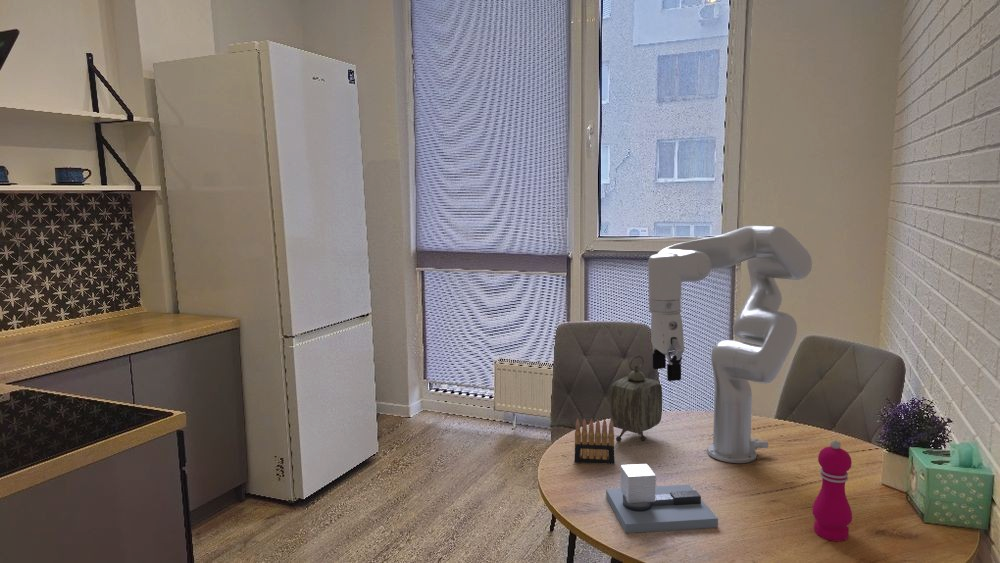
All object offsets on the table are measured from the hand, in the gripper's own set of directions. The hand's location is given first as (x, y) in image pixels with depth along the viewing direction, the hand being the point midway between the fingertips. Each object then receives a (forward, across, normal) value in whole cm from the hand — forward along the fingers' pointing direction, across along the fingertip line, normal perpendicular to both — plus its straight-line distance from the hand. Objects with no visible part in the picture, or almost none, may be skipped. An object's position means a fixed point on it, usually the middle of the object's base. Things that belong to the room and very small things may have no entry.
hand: (666, 374), depth 150 cm
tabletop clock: (+28, +26, 0) cm, 38 cm away
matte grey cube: (+22, -16, +13) cm, 30 cm away
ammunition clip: (+27, +12, +16) cm, 34 cm away
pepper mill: (+28, -29, -23) cm, 47 cm away
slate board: (+26, -16, +8) cm, 32 cm away
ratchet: (+24, -16, +8) cm, 30 cm away
